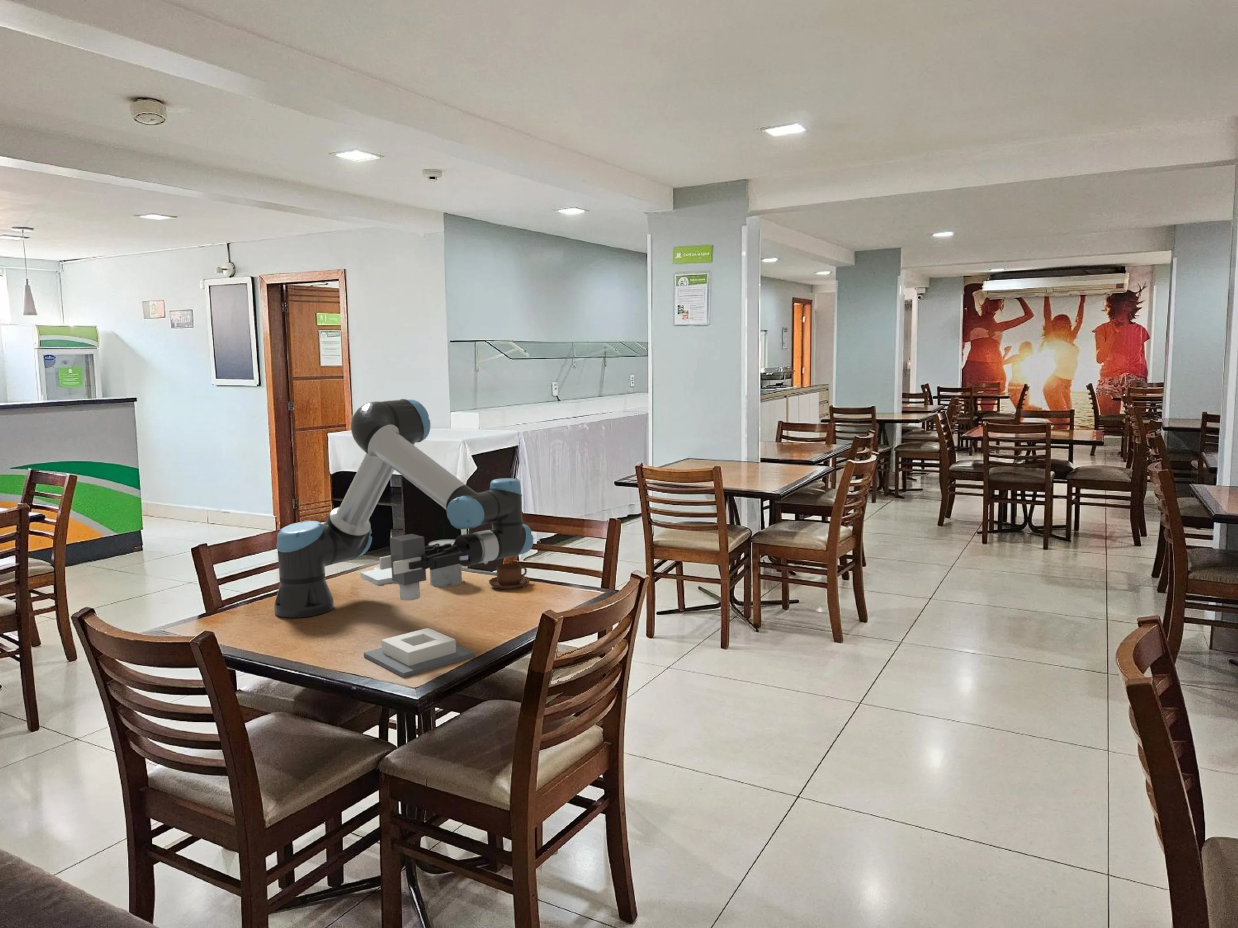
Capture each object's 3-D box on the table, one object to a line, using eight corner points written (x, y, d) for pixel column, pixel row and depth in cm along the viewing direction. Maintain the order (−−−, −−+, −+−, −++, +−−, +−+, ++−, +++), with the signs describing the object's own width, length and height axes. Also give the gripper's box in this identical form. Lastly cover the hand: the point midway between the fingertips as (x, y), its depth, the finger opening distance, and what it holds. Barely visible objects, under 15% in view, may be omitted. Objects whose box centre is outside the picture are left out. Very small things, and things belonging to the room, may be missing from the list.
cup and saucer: (505, 579, 262) (505, 559, 261) (537, 584, 256) (537, 564, 255) (480, 588, 252) (480, 568, 251) (513, 594, 246) (512, 573, 245)
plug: (393, 597, 194) (389, 537, 193) (414, 593, 198) (411, 533, 196) (405, 602, 190) (402, 540, 189) (427, 597, 194) (424, 537, 193)
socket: (363, 656, 195) (362, 639, 195) (432, 638, 208) (432, 622, 207) (403, 677, 182) (402, 659, 182) (474, 656, 195) (474, 639, 194)
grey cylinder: (455, 587, 253) (453, 546, 252) (424, 586, 255) (423, 545, 253) (467, 579, 262) (465, 539, 261) (437, 577, 264) (436, 538, 263)
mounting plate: (357, 576, 269) (357, 570, 269) (396, 569, 277) (395, 563, 277) (381, 588, 255) (380, 581, 255) (421, 580, 263) (420, 574, 263)
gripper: (498, 569, 199) (409, 589, 184) (454, 557, 213) (368, 575, 197) (497, 538, 198) (407, 555, 183) (453, 528, 212) (366, 543, 196)
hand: (387, 565), depth 190 cm, fingers closed on plug, 5 cm apart
